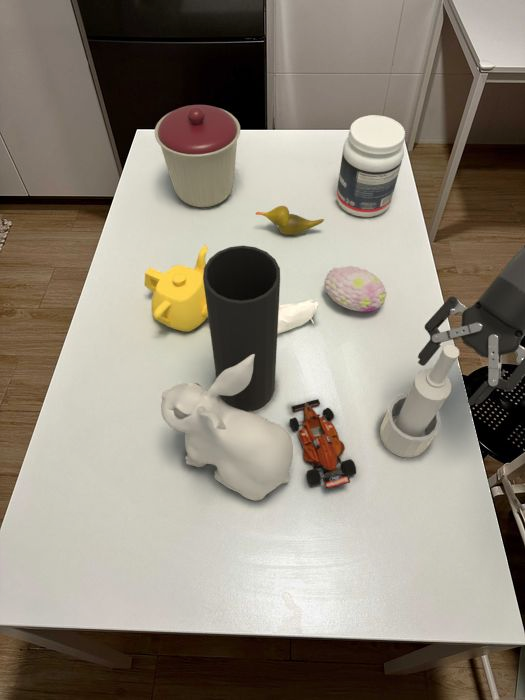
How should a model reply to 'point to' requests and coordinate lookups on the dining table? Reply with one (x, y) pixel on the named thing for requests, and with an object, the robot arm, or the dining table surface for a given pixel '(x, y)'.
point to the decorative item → (355, 288)
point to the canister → (199, 152)
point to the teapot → (179, 295)
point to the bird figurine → (295, 314)
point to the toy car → (322, 446)
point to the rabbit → (230, 434)
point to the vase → (244, 318)
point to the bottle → (427, 395)
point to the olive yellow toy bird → (289, 221)
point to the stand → (403, 442)
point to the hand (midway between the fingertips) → (444, 383)
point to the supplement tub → (370, 165)
